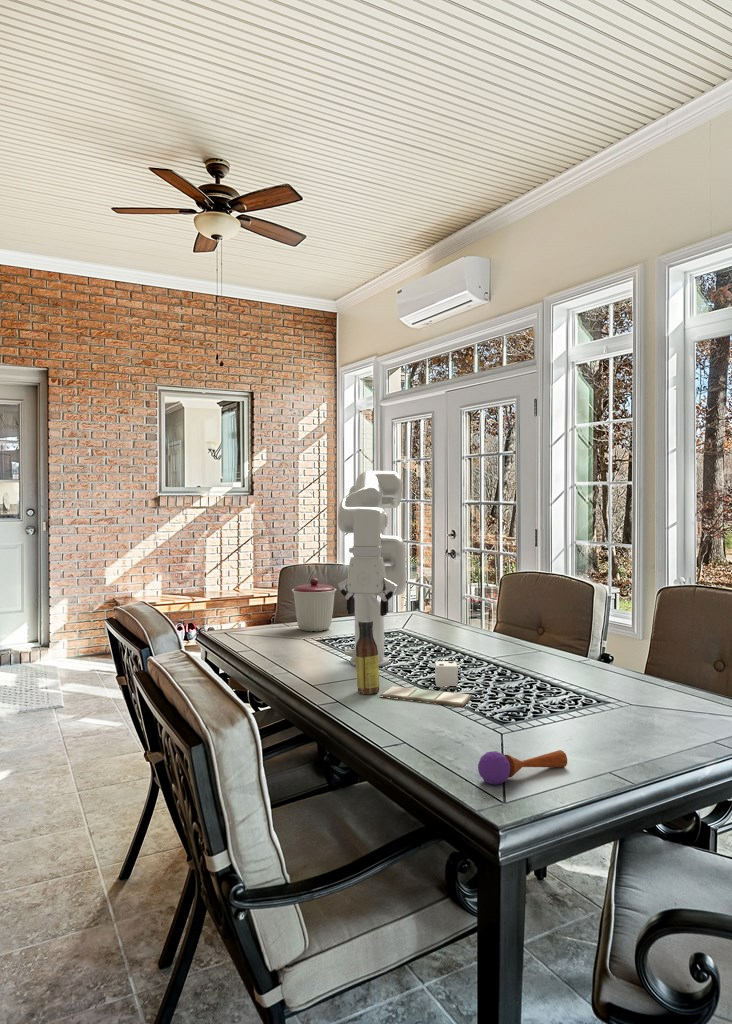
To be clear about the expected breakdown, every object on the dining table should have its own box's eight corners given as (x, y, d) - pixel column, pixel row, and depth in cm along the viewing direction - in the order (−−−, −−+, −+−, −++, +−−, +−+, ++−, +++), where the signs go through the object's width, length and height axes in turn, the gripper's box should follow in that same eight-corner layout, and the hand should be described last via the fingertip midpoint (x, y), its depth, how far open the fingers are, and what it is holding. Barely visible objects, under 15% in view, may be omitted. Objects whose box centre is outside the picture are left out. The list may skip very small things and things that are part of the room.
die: (436, 687, 197) (436, 665, 197) (435, 681, 203) (435, 660, 203) (457, 687, 197) (457, 665, 196) (455, 681, 203) (455, 660, 202)
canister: (318, 635, 270) (318, 581, 269) (283, 630, 280) (282, 578, 279) (345, 628, 285) (344, 577, 285) (310, 623, 295) (310, 574, 294)
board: (379, 697, 187) (379, 694, 187) (391, 688, 195) (391, 685, 195) (463, 706, 178) (463, 703, 178) (471, 697, 186) (471, 694, 186)
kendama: (574, 752, 136) (494, 763, 127) (568, 780, 137) (488, 792, 128) (554, 737, 141) (475, 746, 132) (548, 764, 142) (469, 775, 133)
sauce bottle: (382, 690, 194) (382, 619, 193) (375, 696, 188) (375, 623, 187) (360, 688, 196) (360, 618, 195) (352, 694, 190) (352, 622, 189)
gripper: (333, 552, 191) (333, 614, 191) (391, 553, 184) (392, 618, 184) (344, 551, 197) (344, 610, 198) (401, 552, 191) (401, 614, 191)
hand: (367, 614), depth 191 cm, fingers open, 9 cm apart
